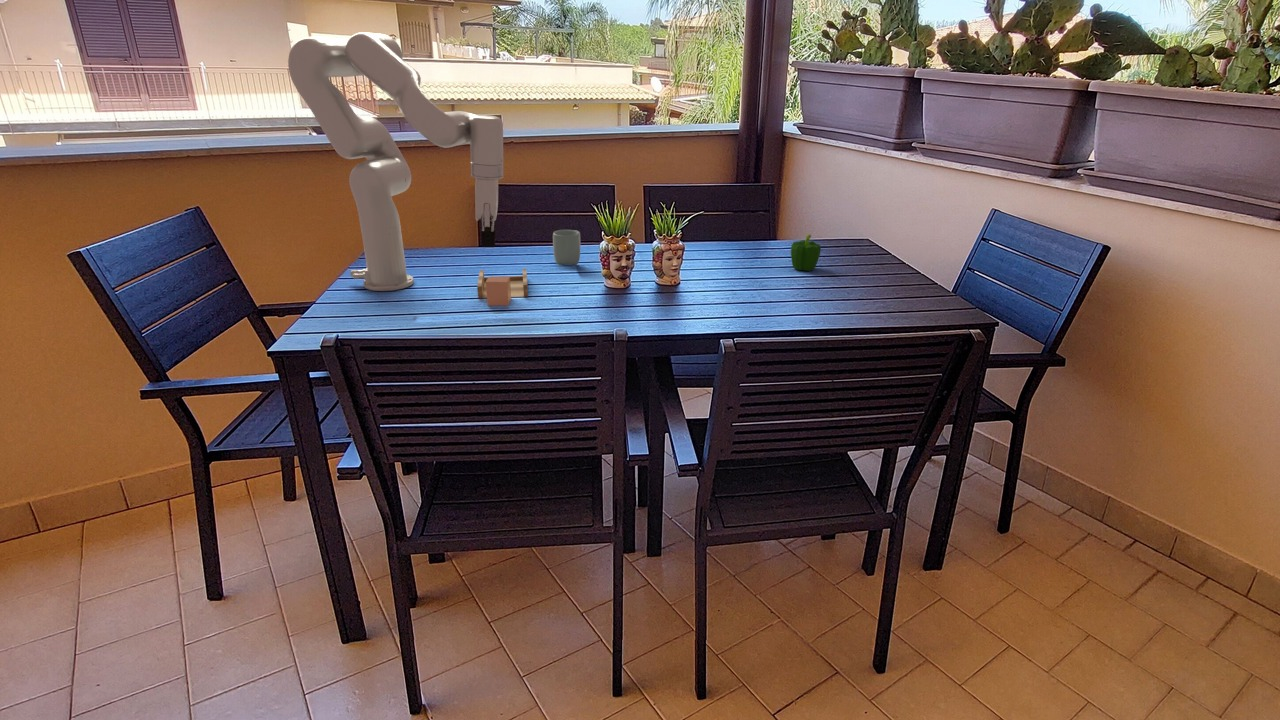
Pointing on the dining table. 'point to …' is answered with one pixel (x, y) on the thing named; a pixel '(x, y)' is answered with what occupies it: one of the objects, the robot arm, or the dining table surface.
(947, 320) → the dining table surface
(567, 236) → the cup
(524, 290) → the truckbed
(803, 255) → the bell pepper
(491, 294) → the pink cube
